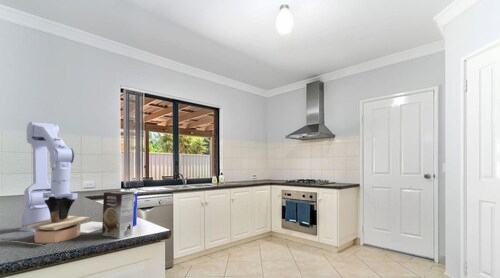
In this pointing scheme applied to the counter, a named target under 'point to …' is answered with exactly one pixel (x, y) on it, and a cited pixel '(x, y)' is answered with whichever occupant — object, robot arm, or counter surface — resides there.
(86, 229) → the mat
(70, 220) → the lid
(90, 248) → the counter surface
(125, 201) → the coffee box
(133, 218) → the beverage can
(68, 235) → the bowl
